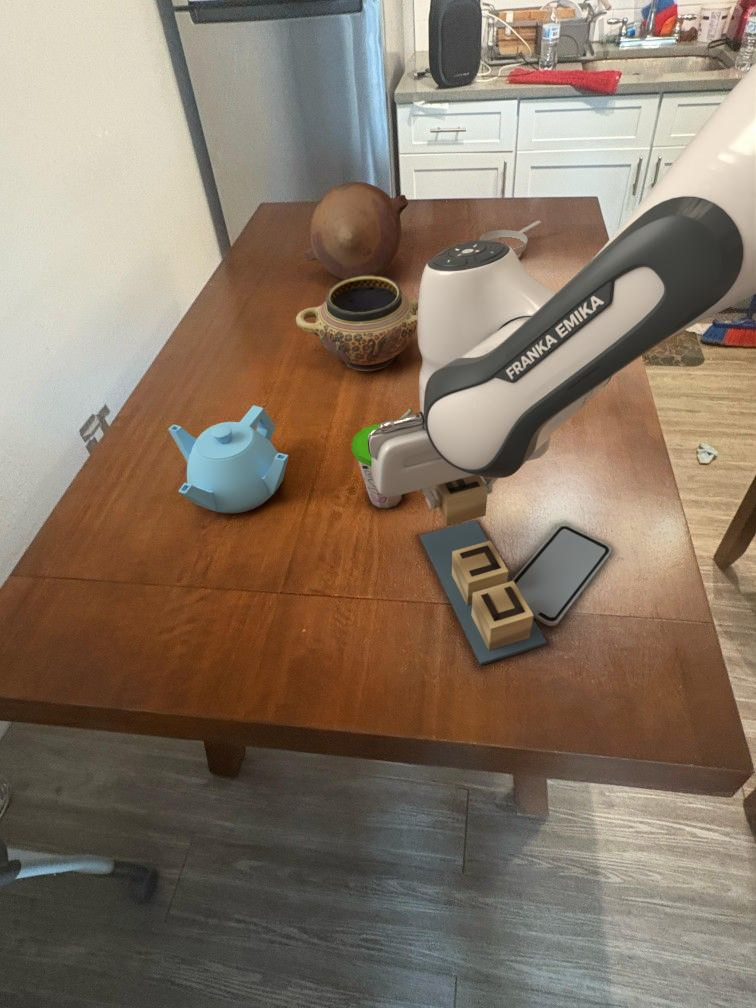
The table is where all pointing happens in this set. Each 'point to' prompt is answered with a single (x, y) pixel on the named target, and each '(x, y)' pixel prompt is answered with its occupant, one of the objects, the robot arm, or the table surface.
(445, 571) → the mat
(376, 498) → the cup
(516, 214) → the table surface
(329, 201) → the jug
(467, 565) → the tile
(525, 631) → the tile
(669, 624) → the table surface
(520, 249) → the saucepan
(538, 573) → the smartphone
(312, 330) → the ceramic bowl
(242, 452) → the teapot
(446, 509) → the tile
